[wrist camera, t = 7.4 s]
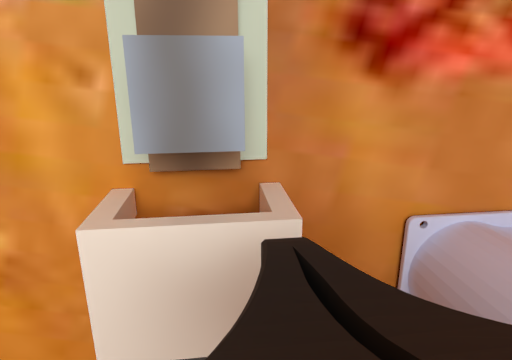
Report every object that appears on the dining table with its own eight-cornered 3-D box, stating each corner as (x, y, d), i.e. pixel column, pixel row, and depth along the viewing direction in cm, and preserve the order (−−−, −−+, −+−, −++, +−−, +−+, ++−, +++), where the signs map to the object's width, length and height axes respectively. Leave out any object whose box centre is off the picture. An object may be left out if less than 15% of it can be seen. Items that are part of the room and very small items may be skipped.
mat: (267, -85, 17) (267, -86, 17) (266, 158, 20) (266, 158, 20) (94, -92, 16) (93, -94, 16) (123, 162, 20) (122, 163, 19)
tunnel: (279, 182, 21) (302, 218, 16) (278, 284, 23) (297, 348, 18) (112, 189, 20) (75, 230, 15) (125, 295, 22) (98, 367, 17)
